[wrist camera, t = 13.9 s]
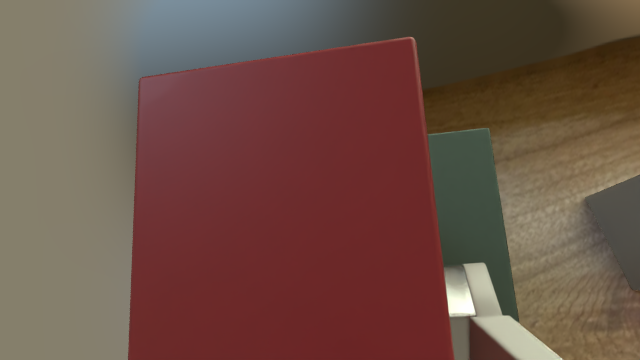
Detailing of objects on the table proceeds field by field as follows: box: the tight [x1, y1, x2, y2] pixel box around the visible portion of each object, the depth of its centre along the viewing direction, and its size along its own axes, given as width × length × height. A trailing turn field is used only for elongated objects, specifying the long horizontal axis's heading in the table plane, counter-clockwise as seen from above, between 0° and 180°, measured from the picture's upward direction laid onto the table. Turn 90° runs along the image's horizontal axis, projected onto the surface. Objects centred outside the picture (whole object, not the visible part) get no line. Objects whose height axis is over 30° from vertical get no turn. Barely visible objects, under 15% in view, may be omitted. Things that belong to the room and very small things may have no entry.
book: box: [128, 37, 455, 360], centre depth 12 cm, size 4×8×14 cm, turn 4°
